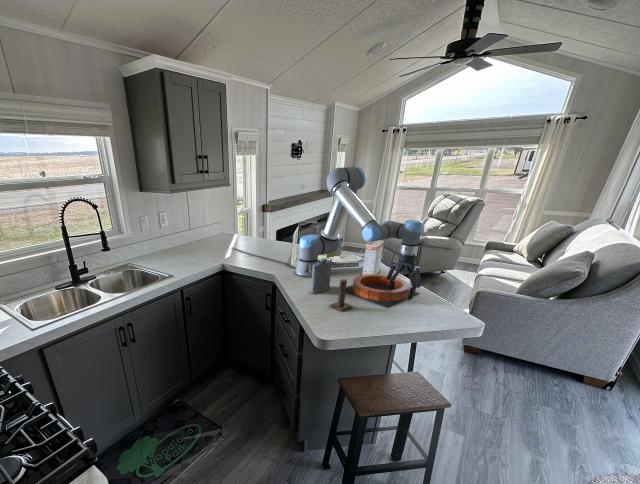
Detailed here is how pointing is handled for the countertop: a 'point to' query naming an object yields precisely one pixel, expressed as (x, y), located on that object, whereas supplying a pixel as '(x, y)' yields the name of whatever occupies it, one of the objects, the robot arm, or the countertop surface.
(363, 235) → the robot arm
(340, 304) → the post
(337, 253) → the protein box
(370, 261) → the coffeecake box
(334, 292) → the countertop surface
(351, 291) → the mat
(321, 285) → the grey flat box
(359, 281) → the ring
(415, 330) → the countertop surface
